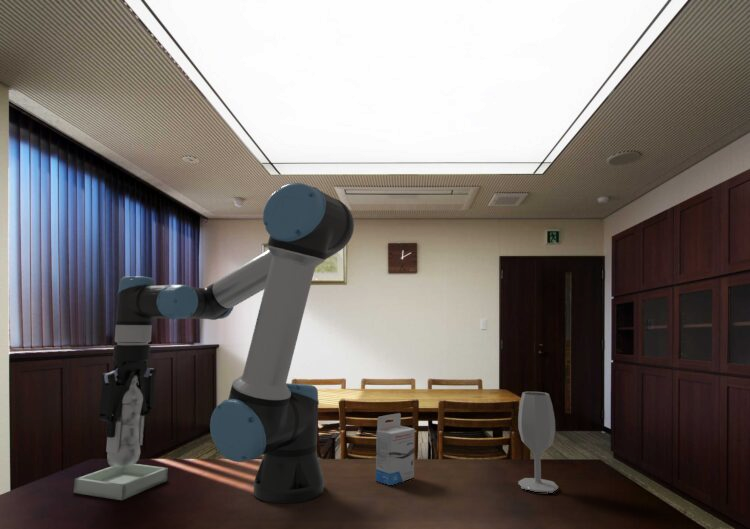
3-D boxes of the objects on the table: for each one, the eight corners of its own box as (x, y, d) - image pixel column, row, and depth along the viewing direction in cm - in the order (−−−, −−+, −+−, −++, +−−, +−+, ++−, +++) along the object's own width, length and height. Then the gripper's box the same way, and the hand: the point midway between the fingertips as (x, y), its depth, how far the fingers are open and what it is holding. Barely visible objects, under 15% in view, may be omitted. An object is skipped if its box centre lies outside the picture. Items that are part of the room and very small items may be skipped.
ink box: (390, 487, 108) (390, 420, 109) (374, 481, 111) (375, 416, 113) (415, 479, 114) (415, 415, 115) (399, 474, 117) (400, 412, 119)
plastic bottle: (126, 471, 103) (133, 376, 105) (98, 469, 104) (106, 375, 106) (145, 463, 109) (152, 373, 111) (120, 460, 110) (126, 372, 113)
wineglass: (516, 491, 106) (514, 394, 108) (520, 479, 114) (518, 389, 116) (558, 497, 103) (555, 397, 105) (559, 484, 111) (556, 392, 113)
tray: (167, 480, 110) (167, 467, 110) (121, 500, 98) (122, 486, 98) (122, 474, 114) (123, 462, 114) (73, 492, 102) (74, 478, 102)
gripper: (150, 341, 120) (143, 437, 117) (83, 345, 102) (73, 457, 99) (175, 342, 117) (168, 440, 115) (111, 346, 99) (101, 461, 97)
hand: (124, 448), depth 107 cm, fingers closed on plastic bottle, 6 cm apart
